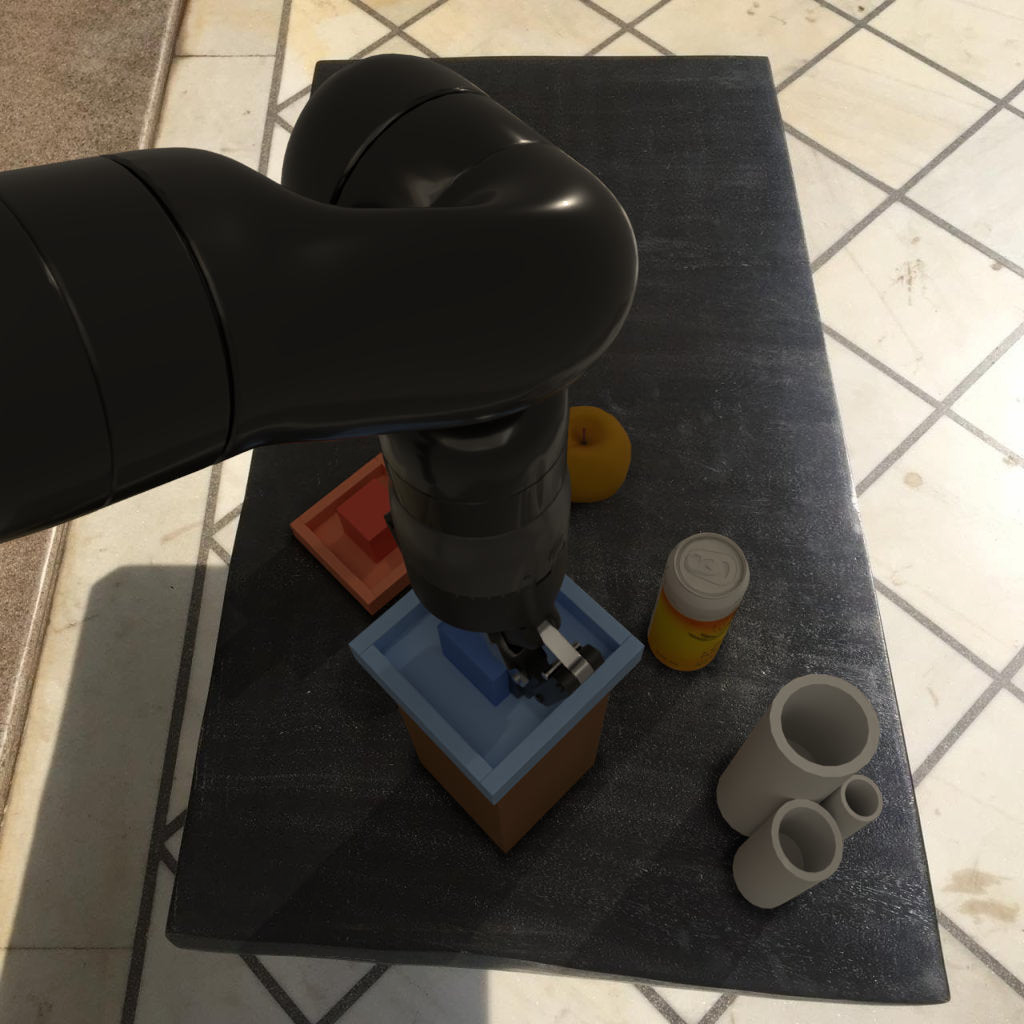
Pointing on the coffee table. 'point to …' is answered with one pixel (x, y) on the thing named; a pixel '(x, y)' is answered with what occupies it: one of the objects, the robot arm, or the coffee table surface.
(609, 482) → the apple
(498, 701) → the blue block
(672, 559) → the beer can
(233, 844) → the coffee table surface
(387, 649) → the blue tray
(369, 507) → the red block
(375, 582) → the red tray
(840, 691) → the vase
